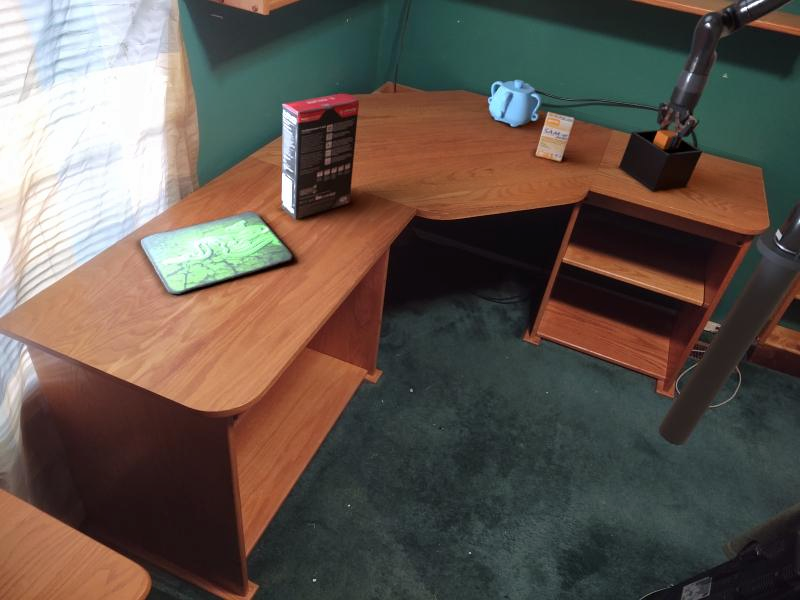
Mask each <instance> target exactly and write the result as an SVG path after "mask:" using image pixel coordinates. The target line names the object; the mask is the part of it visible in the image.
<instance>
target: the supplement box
mask: <svg viewBox="0 0 800 600" xmlns="http://www.w3.org/2000/svg"><path fill="white" fill-rule="evenodd" d="M574 120H575V117H573V116H567V115H563V114H560V113H556V112H552V111H548V112H547V113H546V118H545V121H544V125H543V127H542V131H541V134H540V138H539V142H538V145H537V148H536V152H535V157H537V158H538V157H539V158H543V159H547V160H552V161H556V162H559V163H560V162H562V159H563V156H564V154H565V153H564V152H565V150H566V147H567V143H568V140H569V138H570V134H571V131H572V128H573V125H574Z"/></svg>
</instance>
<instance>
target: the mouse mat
mask: <svg viewBox="0 0 800 600" xmlns="http://www.w3.org/2000/svg"><path fill="white" fill-rule="evenodd" d="M140 245H141V247H142V249H143V250H144V253H145V254H146V256H147V258H148V259H149V261H150V263H151V264H152V266H153V268H154V270H155V272H156V273H157V275H158V277H159V279H160V281H161V282H162V284H163V285H164V287H165V289H166V291H167V292H168V293H170V294H172V295H180V294H183V293H186V292H189V291H192V290H196V289H201V288H203V287H207V286H210V285H211V286H212V285H214V284H217V283H221V282H224V281H228V280H231V279H235V278H238V277H241V276H245V275H248V274H251V273H255V272H258V271H261V270H264V269H267V268H271V267H274V266H277V265H279V264H280V265H281V264H285V263H288V262H291V260H292V259H293V254H292V253H291V251H290V250H289V249H288V248H287V247H286V245H284V243H283V242H282V240H281V239H280V238H279V237H277V235H276V234H275V233H274V231H273V230H272V229H271V228H270V227H269V226H268V225H267V224H266V222H265V221H264V220H263V219H262V218H261V217H260V215H259V214H258V213H256V212H254V211H245V212H241V213H238V214H233V215H231V216H227V217H223V218H219V219H214V220H211V221H206V222H201V223H197V224H193V225H188V226H184V227H180V228H176V229H171V230H165V231H160V232H156V233H153V234H149V235H146V236H144V237H143V238H142V239H141V240H140Z"/></svg>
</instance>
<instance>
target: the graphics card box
mask: <svg viewBox="0 0 800 600" xmlns="http://www.w3.org/2000/svg"><path fill="white" fill-rule="evenodd" d="M359 105H360V102H359V99H358V98H356V97H354V96H352V95H351V94H348V93H345V92H342V93H337V94H331V95H326V96H319V97H314V98H307V99H303V100H298V101H291V102H286V103H282V137H281V139H282V140H281V141H282V147H281V150H282V153H281V155H282V157H281V161H282V162H281V209H282V210H284V212H286V214H288V215H290V217H291V218H293V219H294V220H298V219H302V218H304V217H308V216H312V215H315V214H318V213H321V212H324V211H325V212H326V211H328V210H332V209H335V208H338V207H342V206H344V205H348V204H350V201H351V193H352V192H351V191H352V182H353V181H352V180H353V169H354V160H355V148H356V139H357V138H356V137H357V127H358V118H359V117H358V116H359Z"/></svg>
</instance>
